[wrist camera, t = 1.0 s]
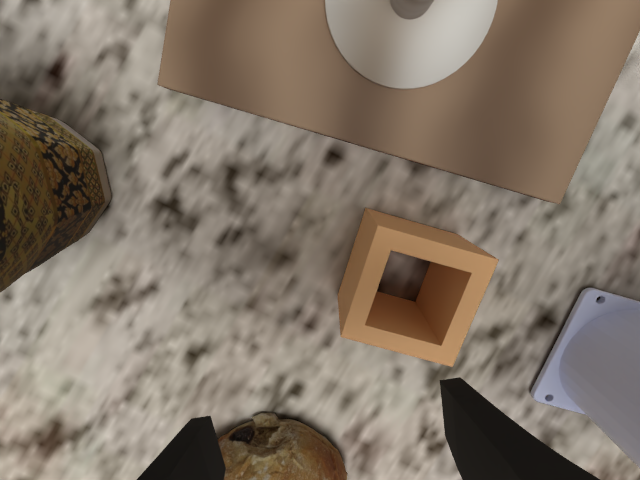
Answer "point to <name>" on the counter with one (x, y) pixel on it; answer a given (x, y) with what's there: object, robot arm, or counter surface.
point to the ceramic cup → (44, 189)
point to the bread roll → (279, 452)
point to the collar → (434, 296)
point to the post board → (416, 76)
